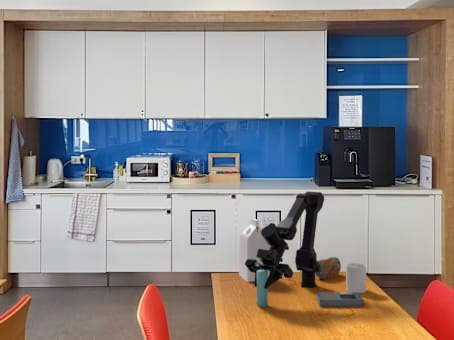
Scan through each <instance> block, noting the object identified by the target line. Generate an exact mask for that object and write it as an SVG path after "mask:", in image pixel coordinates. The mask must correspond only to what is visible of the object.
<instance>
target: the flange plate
mask: <svg viewBox="0 0 454 340" xmlns="http://www.w3.org/2000/svg"><path fill="white" fill-rule="evenodd" d="M316 301H317V303H318V305H319V308H322V307H323V308H325V307H326V308H327V307H328V308H329V307H330V308H331V307H335V308H336V307H341V308H342V307H350V308H352V307H354V308H355V307H360V308H361V307H362V308H363V307H364V305H365V303H364V301H365V299H363V297H362V295H361V293H359V292H347V291H342V292H341V291H340V292H330V291H329V292H316Z"/></svg>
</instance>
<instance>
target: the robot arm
mask: <svg viewBox="0 0 454 340" xmlns="http://www.w3.org/2000/svg"><path fill="white" fill-rule="evenodd" d="M324 202H325V196H324V194H323V193H322V192H320V191H306V192H305V193H298V194H297V195H296V197H295V201H294V203H293V204H292V205H291V208H290V209H289V210H288V213H287V216H285V218H284V219H282V220H280V221H279V223H278V224H277V225H276V224H275V223H273V222H270V223H269V224H268V225H266V226H264V227H263V228H261V229H262V231H261V235H262V236H263V238H264V239H265V241H266V242H267V244H268V245H270V249H269V250H263V249H258V252H257V256H256V257H257V258H260V259H261V260H260V261H261V262H263V264H260V263H258V262H257V260H254V259H247V260H246V262H245V265H246V267H247V268H248V269H249V271H250V272H253V273H255V281H254V288H257V270H268V271H270V275H269V277H268V279H267V281H266V283H265V286H264V288H265V289H267V288H269V287H271V286H272V285H273V284H275V283H276V282H277V281H279V280H283V277H284V278H287V279H292V278H293V275H294V271H293V270H292V268H291V266H290V265H289V264H288V263H282V262H283V260H284V259H283V256H284V254H285V252H286V251H289V249H290V247H289V244H288V242H287V241H293V240H294V238H295V237H296V234H297V232H298V230H297V225H298V223H299V221H300V219H301V218H302V215H303V213H304V212H305V217H304V226H303V235H302V240H301V241H302V242H301V247H300V248H299V249H296V252H295V258H294V259H295V260H294V262H295V267H296V271H301V281H300V282H299V284H300V287H302V288H311V287H312V288H315V287H316V288H317V287H318V284H317V282H316V273H317V272H319V271H320V267H321V266H320V264H319V263H318V261H319V260H317V253H316V249H315V248H314V247H315V239H316V231H317V223H318V222H317V221H318V214H319V212H321V210H322V209H323V206H324Z"/></svg>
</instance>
